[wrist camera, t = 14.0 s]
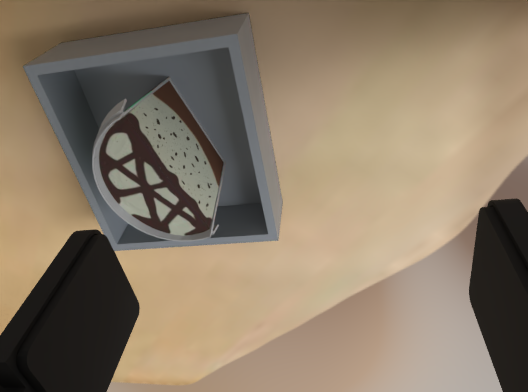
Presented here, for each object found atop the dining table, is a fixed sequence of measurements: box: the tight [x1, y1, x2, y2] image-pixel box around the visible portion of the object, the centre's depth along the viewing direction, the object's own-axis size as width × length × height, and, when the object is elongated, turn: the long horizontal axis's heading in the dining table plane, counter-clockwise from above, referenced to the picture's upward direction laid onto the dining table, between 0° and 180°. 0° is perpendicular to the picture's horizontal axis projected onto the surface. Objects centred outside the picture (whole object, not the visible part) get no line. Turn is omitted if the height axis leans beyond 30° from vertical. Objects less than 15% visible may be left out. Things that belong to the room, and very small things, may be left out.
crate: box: [23, 13, 283, 251], centre depth 39 cm, size 17×19×6 cm
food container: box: [92, 77, 226, 241], centre depth 37 cm, size 12×6×10 cm, turn 29°
